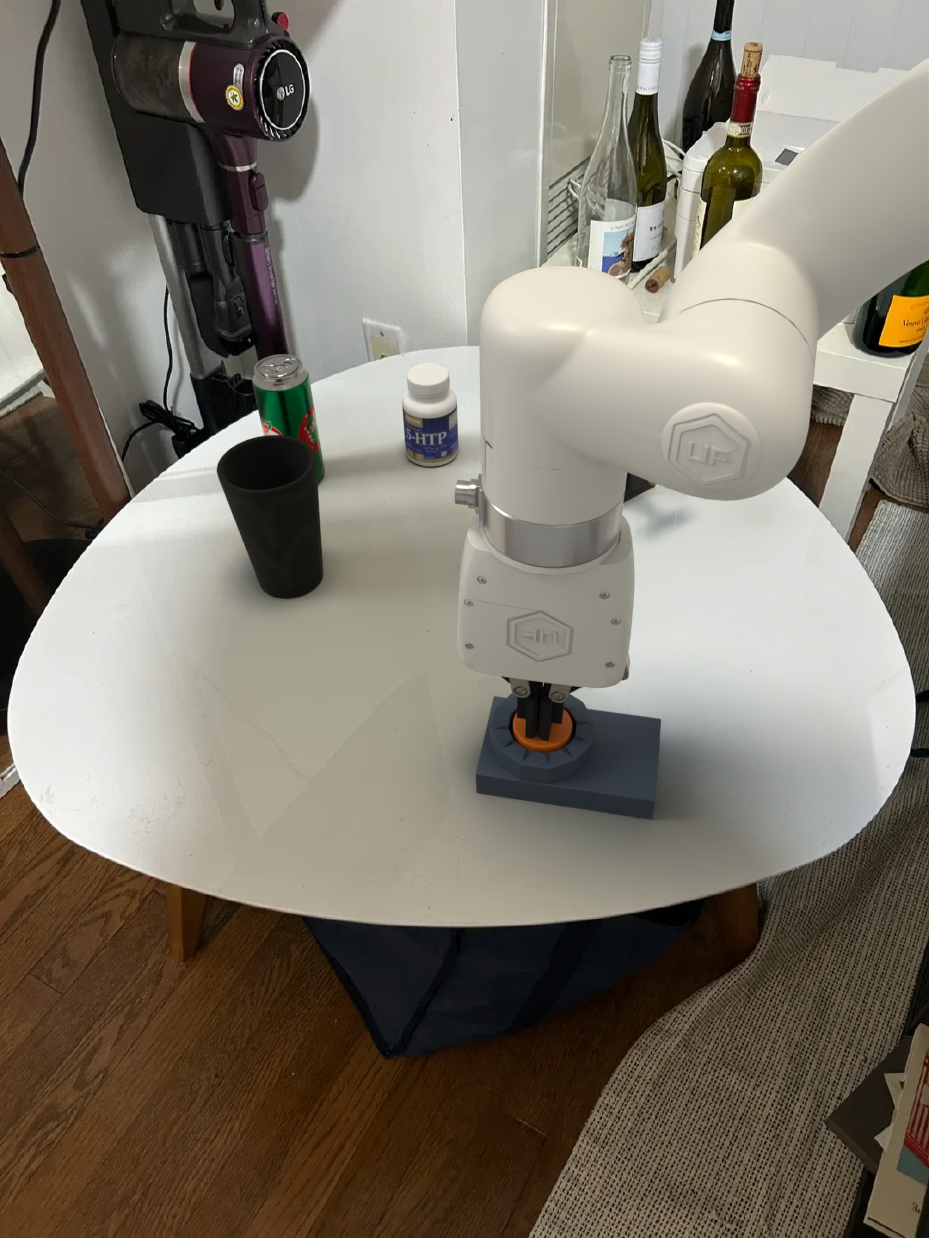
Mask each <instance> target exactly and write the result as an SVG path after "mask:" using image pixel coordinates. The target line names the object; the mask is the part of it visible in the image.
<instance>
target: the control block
mask: <svg viewBox="0 0 929 1238" xmlns="http://www.w3.org/2000/svg"><path fill="white" fill-rule="evenodd" d="M564 710H565V711H566V712H567V713H568V714H569V716H570V718H571V721H572V735H571V742H570V743H569V744H568V745H567V746H566V747H565V748H564V749H560V750H557V751H553V752H550V753H540V752H533V751H528V750H527V749H525V748H524V747H522V746H521V745H519V744H518V743H516V742H515V741H514V739H513V720H514V717H515V715H516V713H517V696H515V695H514V694H513V693H512V692H511V693H510V694H508V696H507V697H503V696H497V695H494V696H493V698H492V703H491V707H490V711H489V715H488V720H487V724H486V727H485V732H484V735H483V736H484V737H483V741H482V746H481V750H480V753H479V759H478V761H477V766H476V771H475V791H476V793H478V794H483V795H484V794H485V795H491V796H496V797H497V796H498V797H504V798H511V799H516V800H523V801H530V802H536V803H543V804H548V805H555V806H562V807H569V808H575V809H581V810H588V811H595V812H601V813H608V814H614V815H621V816H627V817H633V818H641V819H646V820H652V819H653V817H654V812H655V806H656V803H657V789H658V775H659V761H660V760H659V759H660V746H661V745H660V744H661V732H662V718H659V717H652V716H651V717H650V716H643V715H638V714H637V715H636V714H629V713H621V712H614V711H607V710H599V709H592V708H588V707H587V706H586V704H585V703H584V701H582V700H580V699H579V698H577V697H576V696H574V695H572V693H569V696H568V699H567V700H566V701H565V703H564Z"/></svg>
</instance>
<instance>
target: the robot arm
mask: <svg viewBox="0 0 929 1238" xmlns="http://www.w3.org/2000/svg"><path fill="white" fill-rule="evenodd" d="M927 261H929V57H927V58H925V59H924V60H922V61H921V62H919V63H918V64H917V65H915V66H914V67H912V68H911V69H910V70H909V71H907V72H905V73H904V74H903V75H901V76H900V78H898V80H896V81H895V82H893V83H892V84H891V85H889V86H888V87H887V88H886V89H885V90H884V91H882V92H881V93H879V94H878V95H876V96H875V97H873V98H872V99H871V100H870V101H867V102H866V104H863V106H860V107H859V108H858V109H857V110H855V111H853V112H852V113H851V114H849V115H848V116H847V117H845V118H844V119H843V120H842V121H840V122H839V123H838V124H836V125H835V126H834V127H832V128H831V129H829V130H828V131H827V132H826V133H824V135H822V136H820V137H819V138H818V139H817V140H816V141H815V142H813V143H812V144H811V145H809V147H807V149H805V150H804V151H802V152H801V154H799V155H797V157H796V158H795V159H793V160H792V161H791V162H790V163H789V164H788V165H787V166H786V167H785V168H784V169H783V170H782V171H781V172H780V173H778V174H777V175H776V177H774V178H773V179H772V180H771V181H770V182H769V183H768V184H766V186H765V187H764V188H762V190H761V191H759V192H758V193H757V195H755V196H754V197H753V198H752V199H751V200H750V201H749V202H748V203H746V205H745V206H744V207H742V209H740V210H739V212H737V213H736V214H735V216H733V217H732V218H730V220H729V221H728V222H727V223H726V224H725V225H724V226H723V227H722V228H721V229H719V231H717V233H716V234H714V235H713V237H712V238H711V239H710V240H709V241H708V242H707V243H705V245H704V246H702V248H700V250H699V251H698V252H697V253H696V254H695V255H694V256H693V257H692V259H691V260H690V261H689V262H688V263H687V264H686V266H685V267H684V269H682V271H680V273H679V275H678V276H677V278H676V280H675V282H674V283H673V284H672V286H671V288H670V290H669V292H668V294H667V296H666V298H665V301H664V303H663V306H662V308H661V310H660V313H659V316H658V318H657V321H656V323H651V322H649V321H648V320H647V319H646V317H645V315H644V310H643V307H642V305H641V302H640V299H639V298H638V297H637V295H636V293H635V292H634V291H633V289H631V287H630V286H628V285H627V284H626V283H624V282H623V281H621V279H619V278H617V277H615V276H614V275H612V274H610V273H607V272H604V271H602V270H598V269H594V268H589V267H584V266H577V265H546V266H541V267H540V266H539V267H534V268H529V269H526V270H523V271H519V272H517V273H515V274H513V275H511V276H509V277H508V278H506V279H505V280H503V281H502V282H500V283H498V285H497V286H495V287H494V288H493V289H492V291H491V292H490V293H489V294H488V296H487V298H486V299H485V301H484V304H483V306H482V310H481V314H480V317H479V333H478V334H479V335H478V349H479V411H480V412H479V415H480V416H479V417H480V422H479V423H480V462H481V463H480V465H481V467H480V468H481V471H480V473H478V476H477V478H471V479H470V480H463V479H458V480H457V481H456V483H455V489H454V504H455V505H462V506H467V507H468V509H473V510H474V512H475V514H474V516H473V517H472V521H471V522H470V523H469V525H468V529H467V533H466V535H465V540H464V543H463V549H462V555H461V561H460V570H459V582H458V595H457V596H458V597H457V622H456V623H457V625H456V650H457V656H458V659H459V661H460V662H461V663H462V664H463V665H464V666H465V667H466V668H468V669H470V670H472V671H475V672H477V673H480V674H486V675H491V676H496V677H501V678H502V679H503V680H505V681H506V682H507V683H508V685H510V689H511V690H510V691H511V693H513V694H514V695H515V696H517V718H520V719H526V727H525V738H532V739H533V737H536V735H537V729H538V724H539V734H538V737H539V738H541V740H546V741H549V737H550V731H551V725H552V723H555V724H562V719H563V712H564V703H565V701H566V700H567V699H568V696H569V694H572V693H574V692H576V691H577V690H581V688H588V689H604V688H610V687H614V686H616V685H618V684H619V683H620V682H622V681H626V680H628V678H629V677H630V675H629V674H630V669H631V668H630V667H631V658H630V654H629V651H630V644H631V638H632V627H633V617H634V616H633V615H634V602H635V585H636V583H635V582H636V581H635V579H636V577H635V573H636V571H635V553H634V544H633V536H632V531H631V527H630V523H629V522H628V520H627V518H626V517H625V516H624V515H623V511H624V510H623V509H624V503H625V502H624V494H625V487H626V478H627V472H628V473H631V474H633V475H636V476H638V477H641V478H643V479H645V480H648V481H650V482H653V483H655V484H656V485H658V486H660V487H663V488H666V489H668V490H671V491H675V492H678V493H680V494H683V495H685V496H691V497H695V498H698V499H702V500H708V501H709V500H711V501H720V502H728V501H729V502H730V501H741V500H745V499H751V498H755V497H757V496H759V495H762V494H764V493H766V492H769V490H771V489H773V488H775V487H776V486H777V485H779V484H780V483H781V482H782V481H783V480H784V479H786V478H787V476H789V474H790V473H791V471H793V470H794V468H795V466H796V464H797V463H798V461H799V459H800V457H801V455H802V454H803V450H804V448H805V445H806V441H807V437H808V433H809V428H810V421H811V420H810V419H811V411H812V402H813V401H812V400H813V389H814V381H815V369H816V359H817V350H818V342H819V340H821V339H822V338H823V337H824V336H825V335H826V334H827V333H828V332H830V331H831V330H832V329H834V328H835V327H836V326H837V325H839V324H840V323H841V322H842V321H843V320H845V319H846V318H847V317H849V316H850V315H851V314H853V313H854V312H855V311H856V310H857V309H859V308H860V307H861V306H862V305H864V304H865V303H867V302H868V301H869V300H871V299H872V298H874V296H876V295H877V294H879V293H880V292H881V291H882V290H884V289H885V288H887V287H888V286H889V285H890V284H892V283H894V282H895V281H896V280H898V279H899V278H900V277H903V276H904V275H906V274H907V273H909V272H910V271H913V270H914V269H915V268H916V267H918V266H920V265H922V264H923V263H925V262H927Z"/></svg>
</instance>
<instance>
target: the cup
mask: <svg viewBox="0 0 929 1238" xmlns="http://www.w3.org/2000/svg"><path fill="white" fill-rule="evenodd" d="M216 474H217V478H218V481H219V483H220V486H221V489H222V491H223V493H224V496H225V499H226V501H227V504H228V507H229V509H230V512H231V514H232V518H233V519H234V521H235V526H236V527H237V529H238V530H237V531H238V533H239V535H240V538H241V540H242V543H243V545H244V548H245V550H246V553H247V556H248V558H249V561H250V564H251V566H252V569H253V572H254V574H255V576H256V579H257V581H258V584H259V587H260V588H261V590H262V591H263V592H264V593H265V594H267V595H268V596H270V597H273V598H277V599H284V600H285V599H288V600H290V599H296V598H301V597H303V596H306V595H308V594H310V593H312V592H313V591H314V590H315V589H316V588H318V587H319V585H320V584H321V583H322V580H323V578H324V563H323V546H322V531H321V516H320V515H321V514H320V497H319V480H318V479H317V463H316V455H315V452H314V450H313V449H312V448H311V447H310V446H309V445H308V444H307V443H305V442H303V441H302V440H300V439H297V438H294V437H291V436H284V435H266V436H264V435H260V436H255V437H252V438H249V439H246V440H243V441H241V442H238V443H236V444H235V445H233V446H232V447H231V448H229V449H228V450H226V451H225V452H224V454H222V455H221V457H220V458H219V461H218V462H217V465H216Z"/></svg>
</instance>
